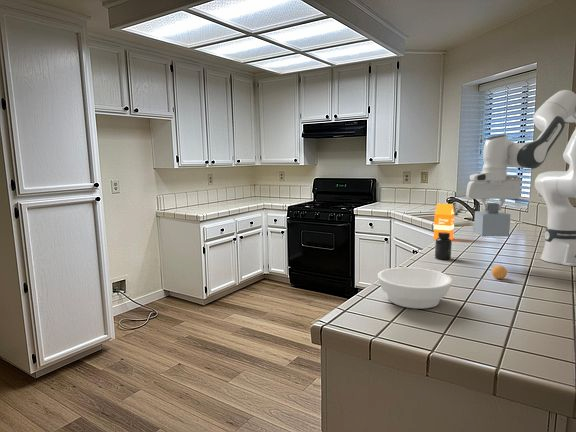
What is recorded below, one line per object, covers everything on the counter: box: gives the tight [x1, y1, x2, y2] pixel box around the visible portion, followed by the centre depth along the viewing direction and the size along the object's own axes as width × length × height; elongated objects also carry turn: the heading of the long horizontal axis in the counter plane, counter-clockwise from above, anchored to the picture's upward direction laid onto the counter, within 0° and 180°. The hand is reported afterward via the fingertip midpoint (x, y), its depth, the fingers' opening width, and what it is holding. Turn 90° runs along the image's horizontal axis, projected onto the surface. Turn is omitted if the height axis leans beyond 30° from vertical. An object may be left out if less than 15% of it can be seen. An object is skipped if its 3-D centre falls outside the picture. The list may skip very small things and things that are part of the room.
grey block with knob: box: [473, 202, 511, 237], centre depth 163 cm, size 10×10×13 cm
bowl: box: [377, 266, 453, 309], centre depth 126 cm, size 22×22×8 cm
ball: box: [491, 265, 508, 280], centre depth 148 cm, size 5×5×5 cm
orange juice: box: [433, 203, 455, 241], centre depth 222 cm, size 8×9×20 cm
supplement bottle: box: [434, 232, 453, 261], centre depth 179 cm, size 7×7×12 cm
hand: (492, 209), depth 162 cm, fingers closed on grey block with knob, 3 cm apart
